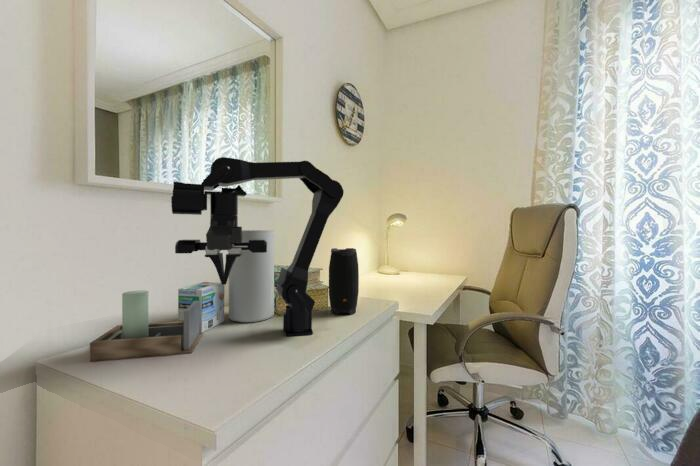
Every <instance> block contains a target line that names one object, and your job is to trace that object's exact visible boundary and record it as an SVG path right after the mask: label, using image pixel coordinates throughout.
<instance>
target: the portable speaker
mask: <svg viewBox="0 0 700 466" xmlns="http://www.w3.org/2000/svg"><path fill="white" fill-rule="evenodd" d="M357 253H358V252H357V249H356V248H353V247H352V248H351V247H350V248H349V247H348V248H342V249H338V247H337V248H334V247H333V248H331V250H330V257H329V258H330V259H329V265H328V297H329V298H328V299H329V305H330V314H333V315H335V316H336V315H337V316H338V315H339V314H340V313H347V314H348V315H353V314H352V313H355V314H356V312H357V307H358V299H359V289H360V288H359V285H360V284H359V282H360V281H359V280H360V279H359V278H360V276H359V259H358V254H357Z"/></svg>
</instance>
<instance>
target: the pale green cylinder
mask: <svg viewBox="0 0 700 466" xmlns="http://www.w3.org/2000/svg"><path fill="white" fill-rule="evenodd" d="M121 295H122V296H121V301H122V302H121V303H122V304H121V307H122V310H121V311H122V314H121V317H122V320H121V321H122V323H121V325H122V339H130V338H144V337H149V323H150V321H149V316H150V315H149V291H148V290H141V289H140V290H130V291H127V292H125V291H124V292H122V294H121Z"/></svg>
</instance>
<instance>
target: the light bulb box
mask: <svg viewBox="0 0 700 466" xmlns="http://www.w3.org/2000/svg"><path fill="white" fill-rule="evenodd" d="M177 291H178V292H177V295H178V299H177V301H178V302H177V303H178V304H177V306H178V308H177V312H178V314H177V315H178V316H177V318H178V319H177V322H180V321H184V311H185V310H186V309H187V308H188V307H189V306H190V305H191V304H192V303H193V302H194V301H199V334H201V333H203V334H204V332H207V331H208V330H210V329H212V328H213V327H216V326H218V325H219V324H222V323H224V322H225V285H222V284H221V282H213V281H212V282H210V281H209V282H208V281H202V282H198V283H196V284H192V285H188V286H184V287H180V288H178V290H177Z"/></svg>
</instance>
